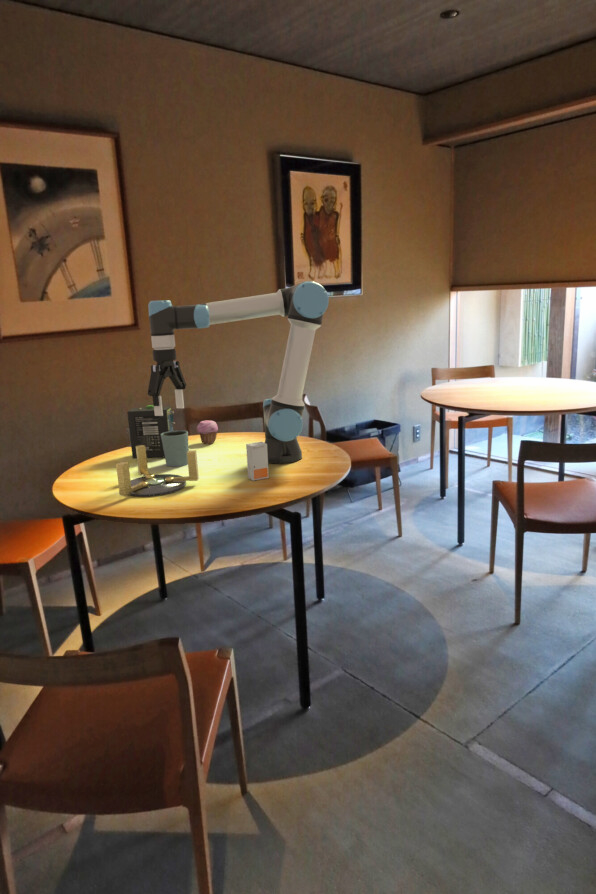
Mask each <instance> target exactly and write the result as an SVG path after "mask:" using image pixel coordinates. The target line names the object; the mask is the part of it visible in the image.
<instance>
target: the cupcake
mask: <svg viewBox="0 0 596 894" xmlns="http://www.w3.org/2000/svg"><path fill="white" fill-rule="evenodd" d="M196 431H197V433H198V434H199V437H200V442H201V443H202V444H205V445H212V444H214V443H215V441H217V440H216V439H217V433H218V431H219V428H218V424H217V422H216V421H214V420H207V419H206V420H201V421H200V422H199V423H198V425H197V426H196Z"/></svg>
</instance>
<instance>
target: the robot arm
mask: <svg viewBox="0 0 596 894" xmlns="http://www.w3.org/2000/svg"><path fill="white" fill-rule="evenodd" d="M329 300H330V299H329V294H328V291H327V290H326V289H325V287H324V286H323V285H321V283H318V282H316V281H311V280H306V281H302V282H300V283H297V284H294V285H293V286H289V287H285V288H279V289H278V290H277V291H276V292H272V293H266V294H265V293H264V294H258V295H252V296H246V297H237V298H232V299H225V300H219V301H211V302H206V303H198V304H190V305H189V304H187V305H173V304H172V302H171V300H169V299H168V300H150V301H149V303H148V304H147V305H148V322H149V329H150V338H151V340H150V341H151V348H152V349H153V350H152V359H153V361H154V362H156V364H152V365H151V366H150V375H149V376H150V377H149V382H148V389H147V395H148V396H149V397H152V405H154V413H155V416H163V409H162V407H163V400H162V399H163V398H162V395H161V391H162V389H163V385H164V382H165V380H166V379H167V378H169V379H170V381H171V382H172V384H173V386H174V388H175V389H174V397H175V406H176V408H175V409H185V402H184V390H186V387H187V383H186V380H185V377H184V375H183V372H182V369H181V366H180V361H179V360H176V359H177V351H176V350H177V349H176V348H175V347H176V339H175V330H193V329H198V330H200V329H201V330H202V329H206V328H207V329H208V328H209V327H210V325H216V324H217V325H218V324H224V323H225V324H226V323H231V322H237V321H239V322H240V321H244V320H252V319H257V318H264V317H270V316H271V317H272V316H281V317H283V318H286V317H287V320H288V323H290V328H289V333H288V338H287V342H286V348H285V353H284V356H283V357H284V358H283V363H282V368H281V372H280V373H281V374H280V379H279V382H278V383H279V384H278V389H277V393H276V395H274V396H272V398H266V399H264V400H263V402H262V403H263V405H262V409H263V421H264V422H263V423H264V443H266V444H267V453H268V464H289V463H290V464H291V463H295V462H298V461H300V460H301V459H303V453H302V452H303V451H302V449H301V446H300V443H299V440H298V437H299V435H301V433H302V431H303V427H304V420H303V417H304V410H305V406H306V405H305V403H304V401H303V399H302V398H303V394H304V393H303V392H304V389H305V384H306V380H307V375H308V370H309V365H310V360H311V356H312V350H313V345H314V340H315V335H316V331H317V329H319V328H320V327H322V323H323V319H324V314H325V313H326V310H327V309H328V307H329ZM299 459H300V460H299Z"/></svg>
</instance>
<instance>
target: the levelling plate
mask: <svg viewBox="0 0 596 894" xmlns="http://www.w3.org/2000/svg"><path fill="white" fill-rule="evenodd" d="M170 476H172V477H183V475H178V474H171V473H168V474H167V473H164V474H163V473H161V474H154V477H155V478H151V479H148V480H147V479H146V477H145V476H144V475H143V476H140V477H137V478H133V479H130V481H131V487H132V486H134V485H137V484H139V483H140V482H143V481H147V482H148V487H142V488H140V489H137V490H135V491H132V492H131V493H129V494H127V495H128V496H130V497H131V496H132V497H140V498H141V497H143V498H144V497H147V498H148V497H159V496H165V495H169V494H172V493H175V492H178V491H180V490H182V489H184V488H186V486H187V482H186V481H173V482H166V480H165V478H166V477H170Z"/></svg>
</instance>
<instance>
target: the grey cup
mask: <svg viewBox="0 0 596 894" xmlns="http://www.w3.org/2000/svg"><path fill="white" fill-rule="evenodd" d="M161 439H162V444H163V449H164V455H165V457H164V460H165V464H166V465H165V466H167V467H168V468H169V467H170V468H180V467H185V466H188V459H187V452H188V451H190V450H189V432H188V430H182V429H179V430H178V429H177V430H173V431H168V432H164V433H162V434H161Z"/></svg>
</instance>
